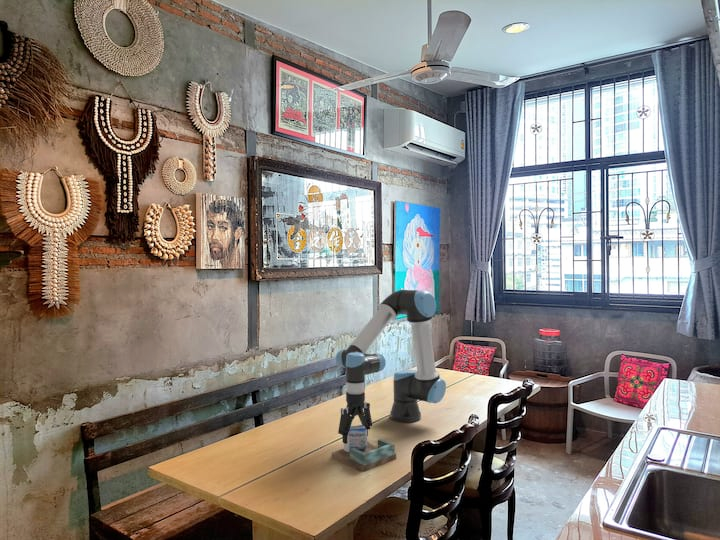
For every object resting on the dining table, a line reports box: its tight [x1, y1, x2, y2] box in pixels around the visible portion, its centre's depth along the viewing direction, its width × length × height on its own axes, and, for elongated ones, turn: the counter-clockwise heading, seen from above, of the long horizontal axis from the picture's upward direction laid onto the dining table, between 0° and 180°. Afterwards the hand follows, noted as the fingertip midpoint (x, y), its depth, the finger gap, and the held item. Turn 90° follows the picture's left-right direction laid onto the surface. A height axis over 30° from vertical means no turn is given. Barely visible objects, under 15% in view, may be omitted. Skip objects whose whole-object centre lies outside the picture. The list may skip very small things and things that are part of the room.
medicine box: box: [345, 424, 366, 450], centre depth 201 cm, size 8×4×9 cm, turn 105°
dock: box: [331, 438, 397, 473], centre depth 198 cm, size 18×18×6 cm
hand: (355, 447), depth 201 cm, fingers closed on medicine box, 9 cm apart
